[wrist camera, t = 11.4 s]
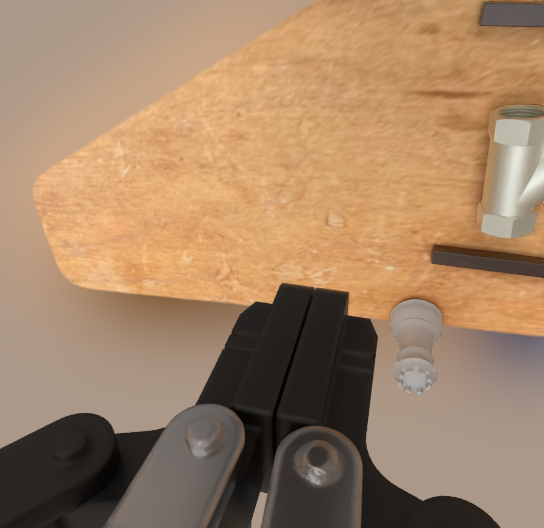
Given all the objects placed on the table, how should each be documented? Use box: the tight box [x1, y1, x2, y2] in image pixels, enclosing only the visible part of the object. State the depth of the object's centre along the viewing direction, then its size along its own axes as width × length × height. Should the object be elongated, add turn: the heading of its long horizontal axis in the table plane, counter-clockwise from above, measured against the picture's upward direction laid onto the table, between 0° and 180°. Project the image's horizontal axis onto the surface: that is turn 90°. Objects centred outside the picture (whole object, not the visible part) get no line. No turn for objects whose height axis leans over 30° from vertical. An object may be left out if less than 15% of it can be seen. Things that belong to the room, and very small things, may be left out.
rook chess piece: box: [390, 299, 443, 395], centre depth 39 cm, size 4×4×8 cm
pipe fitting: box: [476, 104, 544, 238], centre depth 31 cm, size 8×4×7 cm
